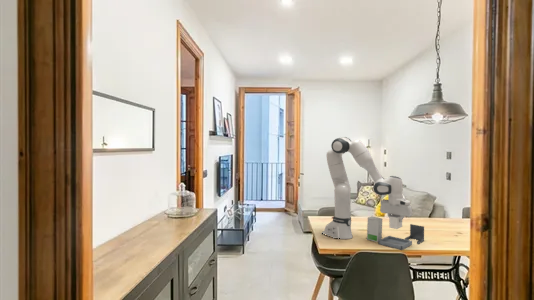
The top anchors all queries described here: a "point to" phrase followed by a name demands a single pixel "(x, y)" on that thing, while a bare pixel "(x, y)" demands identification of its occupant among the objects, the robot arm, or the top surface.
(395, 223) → the caddy
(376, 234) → the skincare box
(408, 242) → the tray
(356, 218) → the top surface
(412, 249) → the top surface
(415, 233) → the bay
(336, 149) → the robot arm
